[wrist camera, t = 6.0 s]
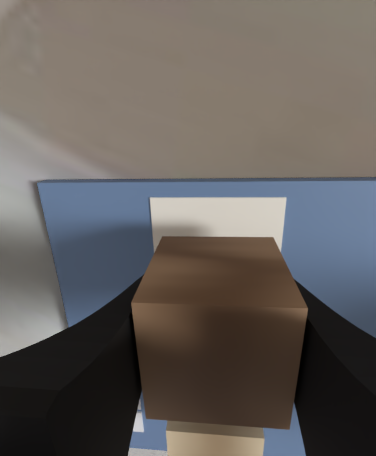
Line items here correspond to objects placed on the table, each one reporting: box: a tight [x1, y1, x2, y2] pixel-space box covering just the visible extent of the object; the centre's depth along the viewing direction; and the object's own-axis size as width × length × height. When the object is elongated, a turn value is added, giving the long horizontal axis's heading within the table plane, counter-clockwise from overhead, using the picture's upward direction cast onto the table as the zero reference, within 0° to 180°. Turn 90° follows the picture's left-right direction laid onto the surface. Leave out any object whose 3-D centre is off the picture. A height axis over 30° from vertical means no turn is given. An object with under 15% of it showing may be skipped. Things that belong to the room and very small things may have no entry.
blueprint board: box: [37, 177, 376, 456], centre depth 17 cm, size 24×20×1 cm
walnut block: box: [131, 236, 308, 430], centre depth 10 cm, size 4×4×4 cm
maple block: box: [166, 421, 265, 456], centre depth 16 cm, size 4×4×4 cm
